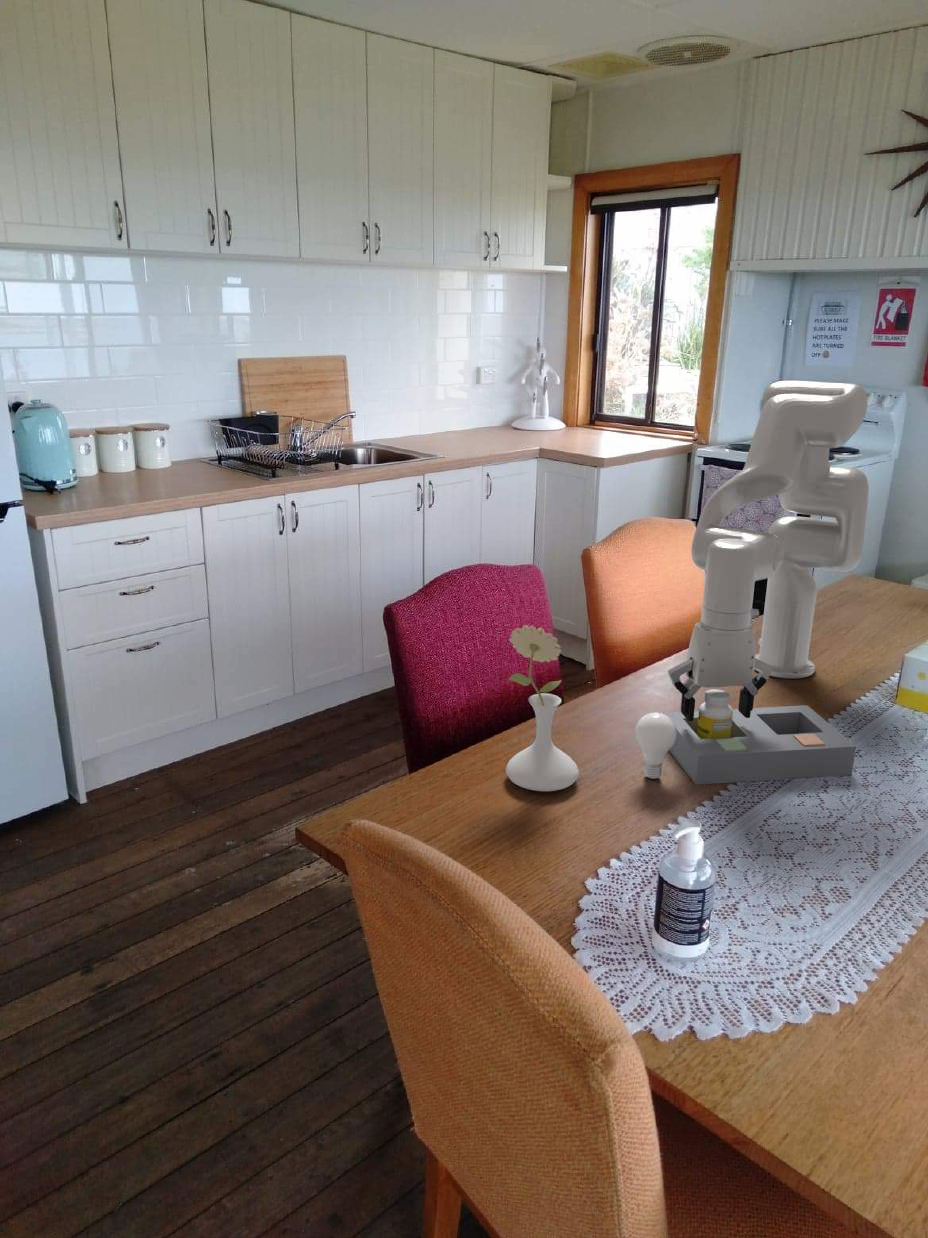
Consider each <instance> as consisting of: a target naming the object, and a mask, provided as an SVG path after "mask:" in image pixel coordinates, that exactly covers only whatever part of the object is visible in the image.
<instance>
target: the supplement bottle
mask: <svg viewBox="0 0 928 1238" xmlns="http://www.w3.org/2000/svg"><path fill="white" fill-rule="evenodd" d="M703 699H704V702H703V703H701V705H699V708H698V711H699V717H698V727H697V736H698V737H699V738H700V739H714V738H730V736H731V726H732V717H733V710H732V709H733V707H732V706H731V705H730V702H731V694H730V693H729V692H728V691H726V690H722V689H717V688H716V689H715V688H712V689H708V690H705V693H704V698H703Z"/></svg>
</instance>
